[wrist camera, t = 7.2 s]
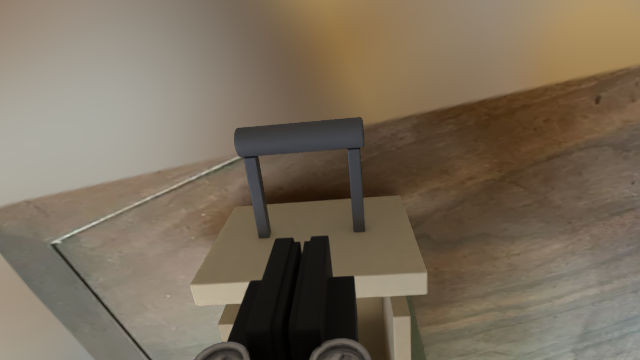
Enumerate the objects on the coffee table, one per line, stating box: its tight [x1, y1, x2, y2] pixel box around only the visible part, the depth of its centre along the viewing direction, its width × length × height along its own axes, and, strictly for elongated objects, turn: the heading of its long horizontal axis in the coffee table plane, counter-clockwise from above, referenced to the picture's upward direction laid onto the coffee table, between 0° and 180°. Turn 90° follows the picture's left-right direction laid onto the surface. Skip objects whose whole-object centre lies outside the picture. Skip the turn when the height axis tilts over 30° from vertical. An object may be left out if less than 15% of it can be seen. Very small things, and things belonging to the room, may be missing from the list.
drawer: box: [190, 117, 428, 360], centre depth 21 cm, size 19×10×8 cm, turn 6°
